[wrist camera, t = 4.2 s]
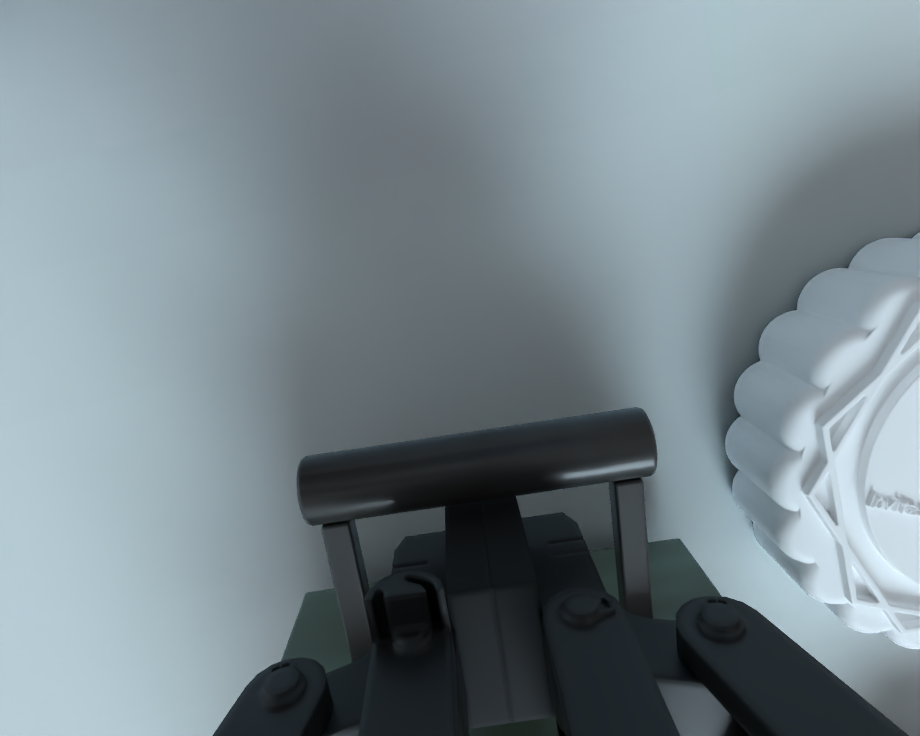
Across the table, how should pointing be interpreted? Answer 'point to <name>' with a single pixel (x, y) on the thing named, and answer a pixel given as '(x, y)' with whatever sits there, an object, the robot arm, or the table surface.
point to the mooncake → (841, 440)
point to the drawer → (477, 479)
